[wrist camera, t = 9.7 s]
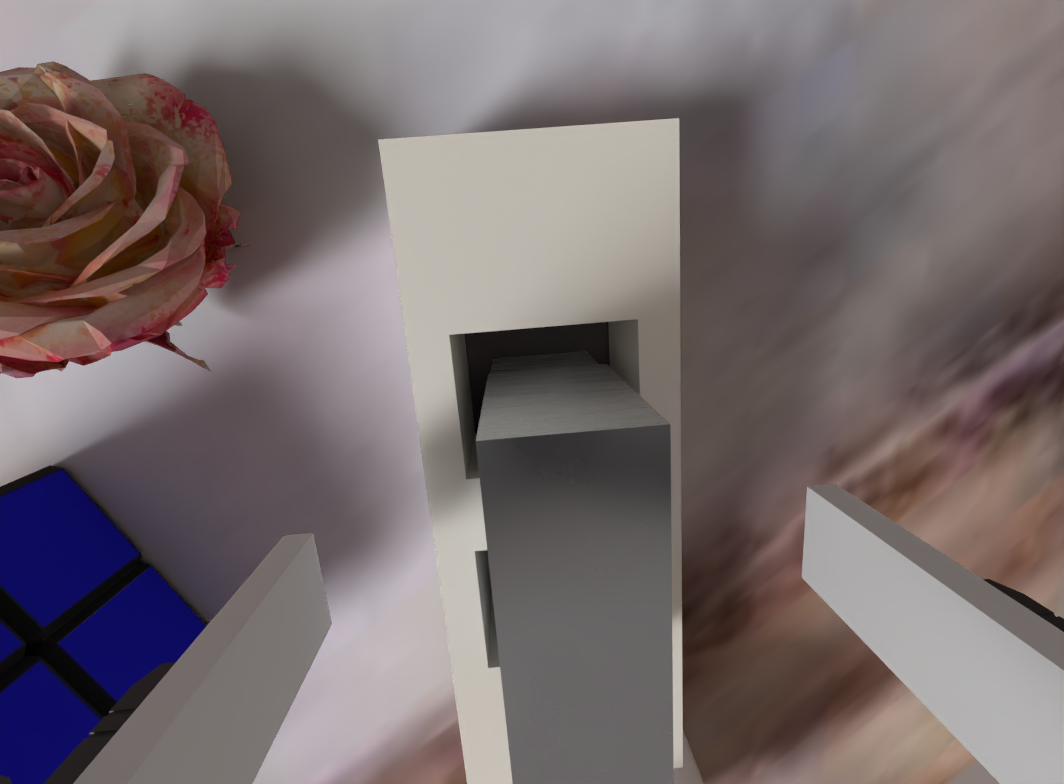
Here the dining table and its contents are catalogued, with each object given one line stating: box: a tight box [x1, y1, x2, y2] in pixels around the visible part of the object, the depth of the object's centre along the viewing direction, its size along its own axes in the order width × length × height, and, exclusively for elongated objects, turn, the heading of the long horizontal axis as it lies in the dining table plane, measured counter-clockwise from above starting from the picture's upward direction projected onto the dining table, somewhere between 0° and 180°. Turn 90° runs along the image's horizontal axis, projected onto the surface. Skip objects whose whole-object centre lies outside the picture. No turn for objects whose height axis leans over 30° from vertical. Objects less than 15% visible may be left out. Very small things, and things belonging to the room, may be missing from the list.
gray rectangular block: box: [476, 351, 674, 784], centre depth 15 cm, size 10×4×10 cm, turn 4°
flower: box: [0, 62, 250, 378], centre depth 14 cm, size 10×9×8 cm
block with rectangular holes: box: [378, 118, 683, 784], centre depth 18 cm, size 22×8×4 cm, turn 4°
